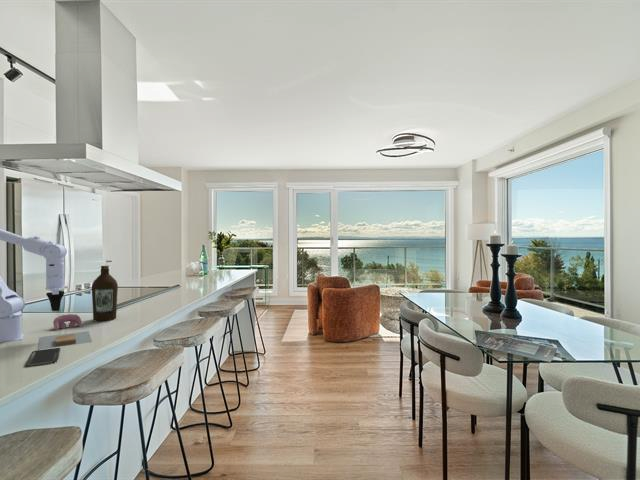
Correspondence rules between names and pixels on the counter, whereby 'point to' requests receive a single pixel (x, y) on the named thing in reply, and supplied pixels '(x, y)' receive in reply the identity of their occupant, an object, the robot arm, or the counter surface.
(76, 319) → the video game controller
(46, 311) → the counter surface
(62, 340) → the walnut tile
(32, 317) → the counter surface
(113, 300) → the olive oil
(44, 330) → the counter surface
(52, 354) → the phone
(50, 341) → the rubber mat
